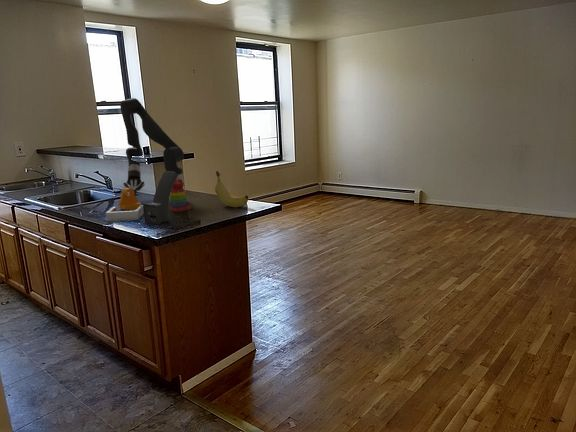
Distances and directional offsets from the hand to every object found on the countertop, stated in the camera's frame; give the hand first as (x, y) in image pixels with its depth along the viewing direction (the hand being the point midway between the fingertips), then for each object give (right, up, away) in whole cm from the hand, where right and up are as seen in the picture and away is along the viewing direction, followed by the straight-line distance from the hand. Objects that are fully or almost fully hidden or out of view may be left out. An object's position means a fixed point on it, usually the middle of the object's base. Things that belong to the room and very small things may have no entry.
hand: (134, 195), depth 271 cm
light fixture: (+31, -15, -44) cm, 56 cm away
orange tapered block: (+3, -8, -15) cm, 17 cm away
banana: (+63, -7, -18) cm, 66 cm away
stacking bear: (+34, -9, -22) cm, 41 cm away
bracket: (+8, -13, -34) cm, 38 cm away
